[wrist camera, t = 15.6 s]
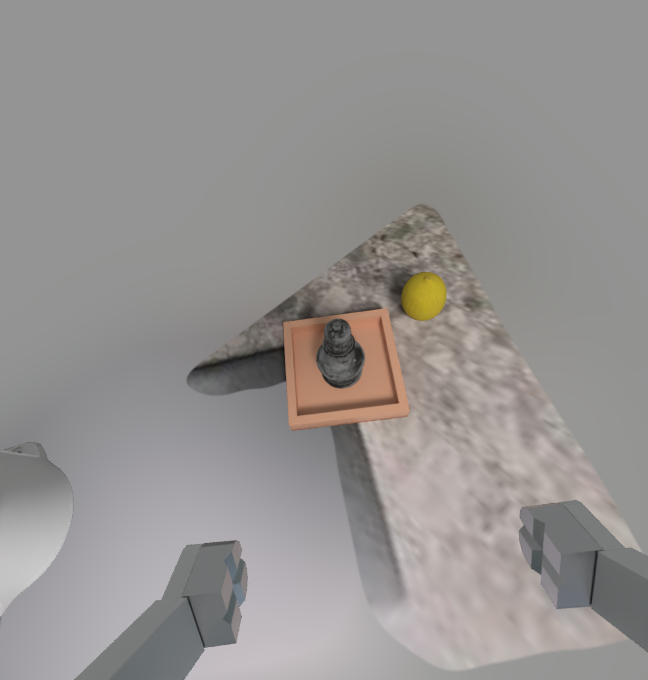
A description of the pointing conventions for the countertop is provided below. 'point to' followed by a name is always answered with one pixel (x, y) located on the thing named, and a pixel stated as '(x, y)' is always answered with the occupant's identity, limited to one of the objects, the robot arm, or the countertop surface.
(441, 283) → the lemon
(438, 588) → the countertop surface
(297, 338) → the tray
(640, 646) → the robot arm
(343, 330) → the dark grey chess piece
